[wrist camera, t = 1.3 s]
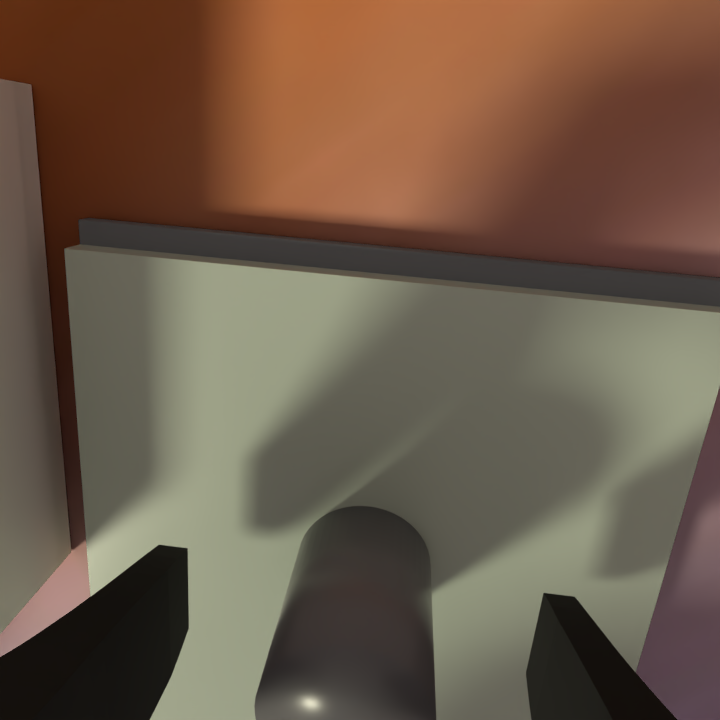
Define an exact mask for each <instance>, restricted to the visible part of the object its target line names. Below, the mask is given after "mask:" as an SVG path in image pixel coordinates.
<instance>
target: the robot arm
mask: <svg viewBox="0 0 720 720" xmlns="http://www.w3.org/2000/svg"><path fill="white" fill-rule="evenodd" d="M188 629H189V604H188V548H182V547H174V546H166V545H158V546H156V547H155V548H154V549H152V550H151V551H150V552H148V553H147V554H146V555H144V556H143V557H142V558H140V559H139V560H138V561H137V562H135V563H134V564H133V565H131V566H130V567H129V568H128V569H126V570H125V571H124V572H122V573H121V574H120V575H119V576H117V577H116V578H115V579H113V580H112V581H111V582H109V583H108V584H107V585H106V586H104V587H103V588H102V589H100V590H99V591H98V592H96V593H95V594H94V595H92V596H91V597H89V598H88V599H87V600H85V601H84V602H83V603H81V604H80V605H79V606H77V607H76V608H75V609H73V610H72V611H70V612H69V613H67V614H66V615H65V616H63V617H62V618H60V619H59V620H57V621H56V622H54V623H53V624H51V625H50V626H48V627H47V628H46V629H44V630H43V631H41V632H40V633H38V634H37V635H35V636H34V637H32V638H31V639H29V640H28V641H26V642H24V643H23V644H21V645H20V646H18V647H16V648H15V649H13V650H12V651H10V652H8V653H7V654H5V655H3V656H2V657H0V720H150V718H151V716H152V714H153V712H154V710H155V708H156V706H157V704H158V702H159V700H160V698H161V696H162V694H163V692H164V690H165V688H166V686H167V684H168V682H169V680H170V678H171V676H172V673H173V671H174V668H175V665H176V663H177V660H178V657H179V655H180V652H181V649H182V646H183V643H184V641H185V638H186V635H187V632H188ZM526 679H527V688H528V697H529V706H530V713H531V720H677V719H676V718H675V717H674V715H673V714H672V713H671V712H670V711H669V710H668V709H667V708H666V707H665V706H664V705H663V704H662V703H661V701H660V700H659V699H658V698H657V697H656V696H655V695H654V693H653V692H652V691H651V690H650V689H649V688H648V687H647V685H646V684H645V683H644V682H643V681H642V680H641V678H640V677H639V676H638V675H637V674H636V672H635V671H634V670H633V669H632V668H631V667H630V665H629V664H628V663H627V662H626V660H625V659H624V658H623V657H622V656H621V654H620V653H619V652H618V651H617V649H616V648H615V647H614V646H613V644H612V643H611V642H610V641H609V639H608V638H607V637H606V636H605V634H604V633H603V632H602V630H601V629H600V628H599V627H598V625H597V624H596V623H595V622H594V620H593V619H592V618H591V616H590V615H589V614H588V613H587V611H586V610H585V609H584V608H583V606H582V605H581V604H580V602H579V601H578V600H577V599H576V598H575V597H573V596H565V595H557V594H549V593H543V597H542V602H541V607H540V611H539V616H538V620H537V625H536V629H535V634H534V638H533V643H532V647H531V652H530V656H529V661H528V665H527V670H526Z"/></svg>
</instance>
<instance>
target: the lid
mask: <svg viewBox="0 0 720 720" xmlns="http://www.w3.org/2000/svg"><path fill="white" fill-rule="evenodd" d="M64 253H65V266H66V279H67V292H68V306H69V319H70V332H71V345H72V359H73V372H74V385H75V398H76V412H77V425H78V438H79V451H80V465H81V478H82V491H83V504H84V518H85V531H86V544H87V557H88V571H89V584H90V597H91V596H92V595H94V594H95V593H96V592H98V591H99V590H100V589H102V588H103V587H104V586H106V585H107V584H108V583H109V582H111V581H112V580H113V579H115V578H116V577H117V576H119V575H120V574H121V573H122V572H124V571H125V570H126V569H128V568H129V567H130V566H131V565H133V564H134V563H135V562H137V561H138V560H139V559H140V558H142V557H143V556H144V555H146V554H147V553H148V552H150V551H151V550H152V549H154V548H155V547H156V546H158V545H166V546H174V547H182V548H188V604H189V629H188V632H187V635H186V638H185V641H184V643H183V646H182V649H181V652H180V655H179V657H178V660H177V663H176V665H175V668H174V671H173V673H172V676H171V678H170V680H169V682H168V684H167V686H166V688H165V690H164V692H163V694H162V696H161V698H160V700H159V702H158V704H157V706H156V708H155V710H154V712H153V714H152V716H151V718H150V720H531V713H530V706H529V697H528V688H527V679H526V670H527V665H528V661H529V656H530V652H531V647H532V643H533V638H534V634H535V629H536V625H537V620H538V616H539V611H540V607H541V602H542V597H543V593H549V594H557V595H565V596H573V597H575V598H576V599H577V600H578V601H579V602H580V604H581V605H582V606H583V608H584V609H585V610H586V611H587V613H588V614H589V615H590V616H591V618H592V619H593V620H594V622H595V623H596V624H597V625H598V627H599V628H600V629H601V630H602V632H603V633H604V634H605V636H606V637H607V638H608V639H609V641H610V642H611V643H612V644H613V646H614V647H615V648H616V649H617V651H618V652H619V653H620V654H621V656H622V657H623V658H624V659H625V660H626V662H627V663H628V664H629V665H630V667H631V668H632V669H633V670H634V671H635V672H636V670H637V666H638V663H639V659H640V656H641V653H642V649H643V646H644V642H645V639H646V636H647V632H648V629H649V625H650V622H651V619H652V615H653V612H654V608H655V605H656V602H657V598H658V595H659V591H660V588H661V585H662V581H663V578H664V574H665V571H666V568H667V564H668V561H669V557H670V554H671V551H672V547H673V544H674V540H675V537H676V534H677V530H678V527H679V523H680V520H681V517H682V513H683V510H684V506H685V503H686V499H687V496H688V493H689V489H690V486H691V482H692V479H693V476H694V472H695V469H696V465H697V462H698V459H699V455H700V452H701V448H702V445H703V442H704V438H705V435H706V431H707V428H708V425H709V421H710V418H711V414H712V411H713V408H714V404H715V401H716V397H717V394H718V391H719V387H720V307H718V306H707V305H697V304H687V303H677V302H666V301H656V300H646V299H636V298H625V297H615V296H605V295H595V294H584V293H574V292H564V291H554V290H543V289H533V288H523V287H513V286H502V285H492V284H482V283H471V282H461V281H451V280H441V279H430V278H420V277H410V276H400V275H389V274H379V273H369V272H359V271H348V270H338V269H328V268H318V267H307V266H297V265H287V264H277V263H266V262H256V261H246V260H236V259H225V258H215V257H205V256H195V255H184V254H174V253H164V252H154V251H143V250H133V249H123V248H113V247H102V246H92V245H82V244H79V245H76V246H72V247H68V248H64Z"/></svg>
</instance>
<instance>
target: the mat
mask: <svg viewBox="0 0 720 720" xmlns="http://www.w3.org/2000/svg"><path fill="white" fill-rule="evenodd" d="M78 222H79V237H80V244H82V245H92V246H102V247H113V248H123V249H133V250H143V251H154V252H164V253H174V254H184V255H195V256H205V257H215V258H225V259H236V260H246V261H256V262H266V263H277V264H287V265H297V266H307V267H318V268H328V269H338V270H348V271H359V272H369V273H379V274H389V275H400V276H410V277H420V278H430V279H441V280H451V281H461V282H471V283H482V284H492V285H502V286H513V287H523V288H533V289H543V290H554V291H564V292H574V293H584V294H595V295H605V296H615V297H625V298H636V299H646V300H656V301H666V302H677V303H687V304H697V305H707V306H718V307H720V278H717V277H706V276H696V275H685V274H675V273H664V272H653V271H643V270H632V269H622V268H611V267H601V266H590V265H580V264H569V263H559V262H548V261H538V260H527V259H517V258H506V257H496V256H485V255H474V254H464V253H453V252H443V251H432V250H422V249H411V248H401V247H390V246H380V245H369V244H359V243H348V242H338V241H327V240H316V239H306V238H295V237H285V236H274V235H264V234H253V233H243V232H232V231H222V230H211V229H201V228H190V227H180V226H169V225H159V224H148V223H137V222H127V221H116V220H106V219H95V218H85V219H80V220H78Z"/></svg>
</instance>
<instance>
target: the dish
mask: <svg viewBox="0 0 720 720" xmlns="http://www.w3.org/2000/svg"><path fill="white" fill-rule="evenodd" d="M70 553H71V542H70V531H69V519H68V507H67V496H66V484H65V472H64V460H63V449H62V437H61V425H60V414H59V402H58V390H57V379H56V367H55V355H54V343H53V332H52V320H51V308H50V297H49V285H48V273H47V261H46V250H45V238H44V226H43V215H42V203H41V191H40V180H39V168H38V156H37V144H36V133H35V121H34V109H33V98H32V86H31V84H26V83H21V82H15V81H10V80H4V79H0V634H1V632H2V631H3V630H4V629H5V628H6V627H7V625H8V624H9V623H10V622H11V621H12V620H13V619H14V617H15V616H16V615H17V614H18V613H19V612H20V611H21V609H22V608H23V607H24V606H25V605H26V604H27V602H28V601H29V600H30V599H31V598H32V597H33V596H34V594H35V593H36V592H37V591H38V590H39V589H40V587H41V586H42V585H43V584H44V583H45V582H46V581H47V579H48V578H49V577H50V576H51V575H52V574H53V572H54V571H55V570H56V569H57V568H58V567H59V566H60V564H61V563H62V562H63V561H64V560H65V559H66V557H67V556H68V555H69V554H70Z"/></svg>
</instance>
